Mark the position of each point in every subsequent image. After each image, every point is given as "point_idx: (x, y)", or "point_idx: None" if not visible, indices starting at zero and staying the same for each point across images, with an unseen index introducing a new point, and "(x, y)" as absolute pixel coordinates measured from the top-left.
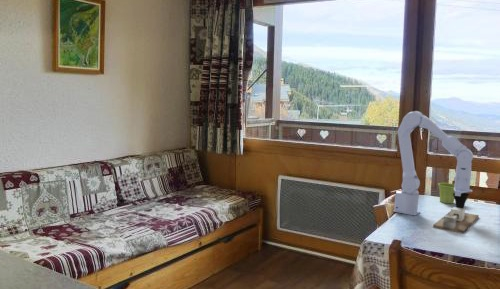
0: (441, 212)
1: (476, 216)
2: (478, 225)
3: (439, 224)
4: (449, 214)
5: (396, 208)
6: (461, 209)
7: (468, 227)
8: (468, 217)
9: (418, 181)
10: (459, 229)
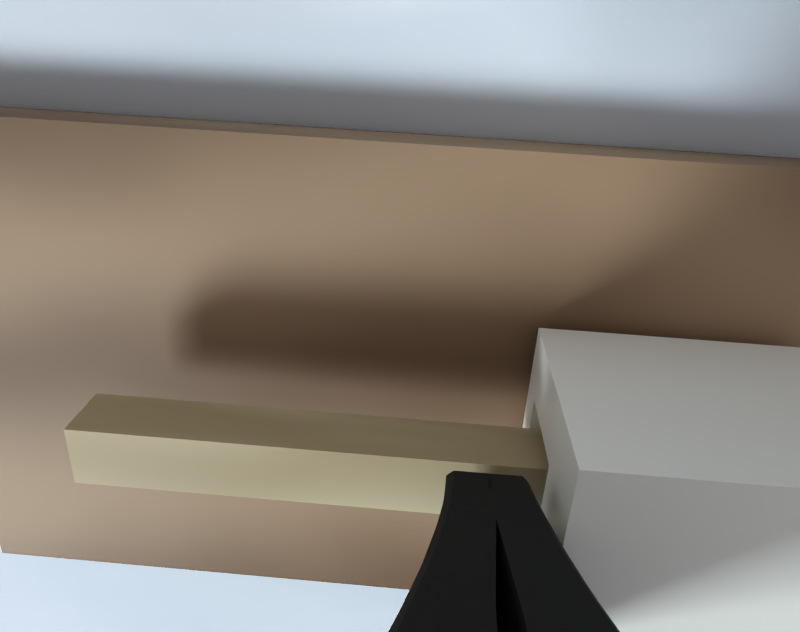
0: (140, 620)
1: (35, 135)
2: (631, 6)
3: None
4: (316, 550)
5: None
6: (749, 536)
7: None
8: (274, 269)
9: None
10: None
